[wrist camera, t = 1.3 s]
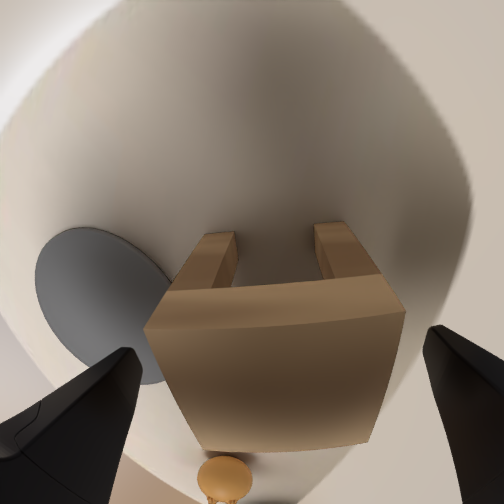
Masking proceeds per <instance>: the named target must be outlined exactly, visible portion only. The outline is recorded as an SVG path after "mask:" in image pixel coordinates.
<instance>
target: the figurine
mask: <svg viewBox="0 0 504 504" xmlns="http://www.w3.org/2000/svg"><path fill="white" fill-rule="evenodd" d="M197 480H198V485H199V487H200V489H201V491H202V492H203V493H204V494H205V495H206V496H207V500H208V504H216V503H217V502H225V503H227V504H236V503H237V501H238V500H239V499H241V498H243V497H244V496H245V495H246V494H247V493H248V492H249V491H250V489H251V486H252V481H253V479H252V474H251V471H250V469H249V468H248V467H247V465H246V464H245V463H243V462H242V461H241V460H239V459H237V458H234V457H230V456H217V457H214V458H211V459H209V460H208V461H206V462H205V463H204V464H203V465H202V466H201V468H200V469H199V472H198V476H197Z"/></svg>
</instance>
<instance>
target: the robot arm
mask: <svg viewBox="0 0 504 504" xmlns="http://www.w3.org/2000/svg"><path fill="white" fill-rule="evenodd" d="M423 357H424V360H425V364H426V367H427V371H428V375H429V379H430V383H431V387H432V391H433V395H434V398H435V401H436V404H437V407H438V410H439V413H440V416H441V419H442V422H443V425H444V429H445V432H446V435H447V439H448V442H449V446H450V449H451V453H452V457H453V461H454V465H455V469H456V473H457V478H458V482H459V487H460V492H461V497H462V502H463V504H504V361H503V360H502V359H500V358H498V357H497V356H495V355H493V354H492V353H490V352H488V351H486V350H485V349H483V348H481V347H480V346H478V345H476V344H474V343H473V342H471V341H469V340H467V339H466V338H464V337H462V336H460V335H459V334H457V333H455V332H454V331H452V330H450V329H448V328H446V327H445V326H443V325H436V326H431V327H430V328H429V329H428V331H427V335H426V338H425V342H424V345H423ZM142 374H143V367H142V364H141V362H140V360H139V358H138V356H137V354H136V351H135V350H134V349H133V348H132V347H120V348H118V349H117V350H115V351H114V352H112V353H111V354H109V355H108V356H106V357H105V358H103V359H102V360H100V361H99V362H97V363H96V364H94V365H93V366H91V367H90V368H88V369H87V370H85V371H84V372H82V373H81V374H79V375H78V376H76V377H75V378H73V379H72V380H70V381H69V382H67V383H66V384H64V385H63V386H61V387H60V388H58V389H57V390H55V391H54V392H52V393H51V394H49V395H47V396H46V397H44V398H43V399H42V400H40V401H38V402H37V403H35V404H34V405H32V406H31V407H29V408H27V409H26V410H24V411H23V412H21V413H19V414H17V415H16V416H14V417H12V418H10V419H8V420H6V421H4V422H2V423H1V424H0V504H108V503H109V499H110V496H111V491H112V487H113V484H114V480H115V476H116V472H117V469H118V465H119V462H120V458H121V455H122V451H123V448H124V444H125V441H126V438H127V434H128V431H129V428H130V425H131V421H132V418H133V415H134V411H135V407H136V402H137V398H138V393H139V388H140V383H141V379H142Z"/></svg>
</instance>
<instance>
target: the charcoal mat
mask: <svg viewBox="0 0 504 504" xmlns="http://www.w3.org/2000/svg"><path fill="white" fill-rule="evenodd" d="M170 285H171V282H170V281H169V280H168V278H167V277H166V276H165V275H164V273H163V272H162V271H161V270H160V269H159V268H158V267H157V266H156V265H155V263H154V262H153V261H152V260H151V259H150V258H148V257H147V256H146V255H145V254H144V253H142V252H141V251H140V250H139V249H137V248H136V247H134V246H133V245H132V244H130V243H129V242H127V241H125V240H123V239H121V238H120V237H118V236H116V235H113V234H111V233H108V232H106V231H102V230H98V229H94V228H74V229H70V230H67V231H64V232H62V233H61V234H59V235H57V236H55V237H54V238H52V239H51V240H50V241H49V242H48V243H47V244H46V245H45V246H44V248H43V249H42V251H41V253H40V255H39V257H38V260H37V263H36V269H35V286H36V293H37V297H38V301H39V304H40V307H41V310H42V312H43V314H44V317H45V319H46V320H47V322H48V324H49V326H50V327H51V329H52V331H53V332H54V334H55V335H56V336H57V338H58V339H59V340H60V341H61V343H62V344H63V345H64V346H65V347H66V348H67V349H68V350H69V351H70V352H71V353H72V354H73V355H74V356H75V357H76V358H78V359H79V360H80V361H81V362H83V363H84V364H85V365H87V366H88V367H91V366H93V365H94V364H96V363H97V362H99V361H100V360H102V359H103V358H105V357H106V356H108V355H109V354H111V353H112V352H114V351H115V350H117V349H118V348H120V347H132V348H133V349H134V350H135V351H136V354H137V356H138V358H139V360H140V362H141V364H142V367H143V374H142V379H141V383H140V385H148V384H155V383H159V382H162V381H165V378H164V376H163V374H162V372H161V370H160V368H159V365H158V363H157V361H156V359H155V356H154V354H153V352H152V350H151V347H150V345H149V343H148V340H147V338H146V335H145V333H144V330H143V328H144V327H145V325H146V323H147V322H148V320H149V319H150V317H151V315H152V314H153V312H154V310H155V309H156V307H157V306H158V304H159V303H160V301H161V299H162V298H163V296H164V295H165V293H166V292H167V290H168V288H169V287H170Z"/></svg>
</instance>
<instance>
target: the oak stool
mask: <svg viewBox="0 0 504 504" xmlns="http://www.w3.org/2000/svg"><path fill="white" fill-rule="evenodd" d="M314 239H315V254H316V257H317V260H318V264H319V267H320V270H321V273H322V277H323V280H317V281H306V282H295V283H283V284H271V285H258V286H244V287H231V285H232V281H233V278H234V274H235V271H236V267H237V264H238V260H239V259H238V252H237V246H236V240H235V234H234V231H232V232H223V233H213V234H204V236H203V237H202V239H201V240H200V242H199V243H198V244H197V246H196V247H195V249H194V250H193V252H192V253H191V255H190V256H189V258H188V259H187V261H186V262H185V264H184V265H183V267H182V268H181V270H180V271H179V273H178V275H177V276H176V278H175V279H174V281H173V282H172V284H171V285H170V287H169V288H168V290H167V292H166V293H165V295H164V296H163V298H162V299H161V301H160V303H159V304H158V306H157V307H156V309H155V310H154V312H153V314H152V315H151V317H150V319H149V320H148V322H147V323H146V325H145V327H144V328H143V330H144V333H145V335H146V338H147V340H148V343H149V345H150V347H151V350H152V352H153V354H154V356H155V359H156V361H157V363H158V365H159V368H160V370H161V372H162V374H163V376H164V378H165V380H166V382H167V384H168V387H169V389H170V391H171V393H172V395H173V397H174V399H175V400H176V402H177V404H178V406H179V408H180V410H181V412H182V414H183V416H184V417H185V419H186V421H187V423H188V425H189V426H190V428H191V430H192V432H193V434H194V435H195V437H196V439H197V440H198V442H199V444H200V445H201V447H202V449H203V450H210V451H224V452H256V453H261V452H293V451H307V450H318V449H327V448H335V447H342V446H349V445H355V444H361V443H366V442H368V440H369V438H370V435H371V433H372V430H373V428H374V425H375V422H376V420H377V417H378V414H379V411H380V408H381V405H382V402H383V399H384V396H385V393H386V390H387V387H388V383H389V380H390V376H391V373H392V369H393V366H394V362H395V358H396V354H397V350H398V346H399V342H400V337H401V333H402V328H403V323H404V318H405V313H406V310H405V309H404V307H403V305H402V304H401V302H400V301H399V299H398V298H397V296H396V294H395V293H394V291H393V290H392V288H391V287H390V285H389V284H388V282H387V281H386V279H385V278H384V276H383V275H382V273H381V272H380V270H379V269H378V268H377V266H376V265H375V263H374V262H373V260H372V259H371V257H370V256H369V255H368V253H367V252H366V250H365V249H364V248H363V246H362V245H361V243H360V242H359V241H358V239H357V238H356V237H355V235H354V234H353V233H352V231H351V230H350V229H349V227H348V226H347V225H346V223H345V222H344V221H343V222H330V223H318V224H314Z"/></svg>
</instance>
